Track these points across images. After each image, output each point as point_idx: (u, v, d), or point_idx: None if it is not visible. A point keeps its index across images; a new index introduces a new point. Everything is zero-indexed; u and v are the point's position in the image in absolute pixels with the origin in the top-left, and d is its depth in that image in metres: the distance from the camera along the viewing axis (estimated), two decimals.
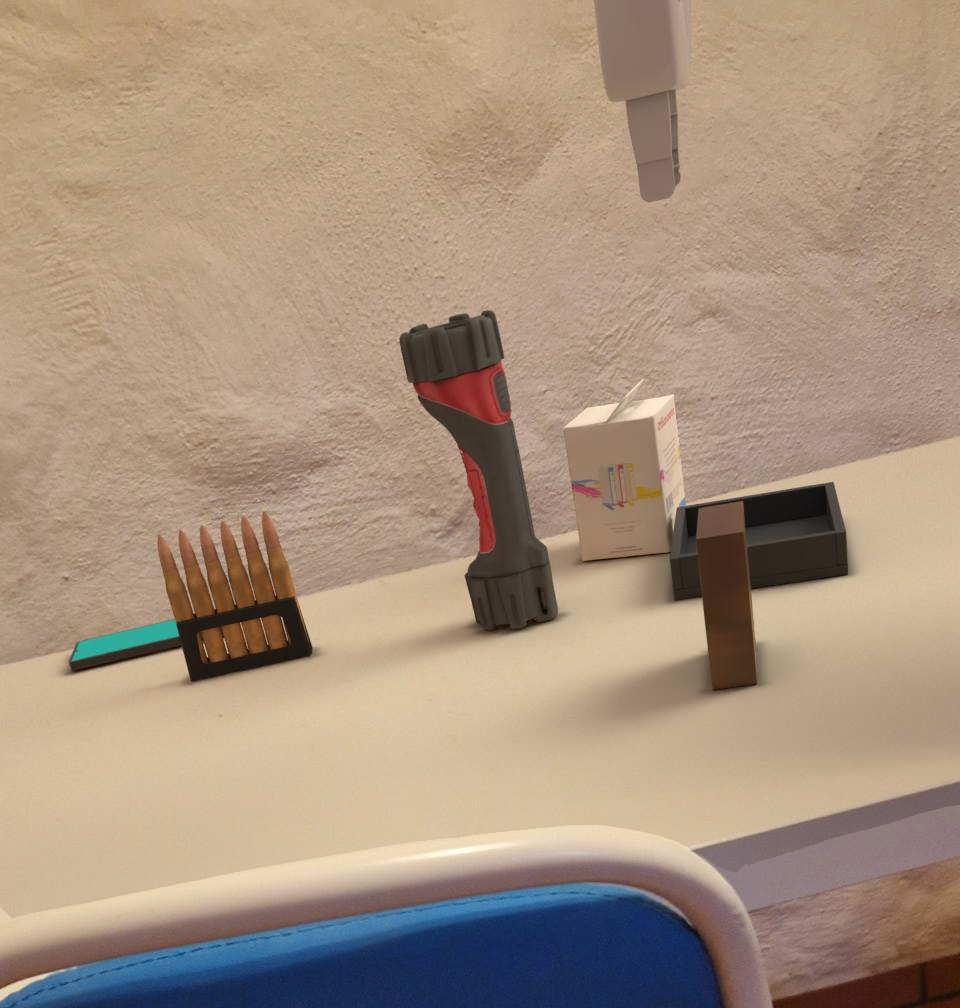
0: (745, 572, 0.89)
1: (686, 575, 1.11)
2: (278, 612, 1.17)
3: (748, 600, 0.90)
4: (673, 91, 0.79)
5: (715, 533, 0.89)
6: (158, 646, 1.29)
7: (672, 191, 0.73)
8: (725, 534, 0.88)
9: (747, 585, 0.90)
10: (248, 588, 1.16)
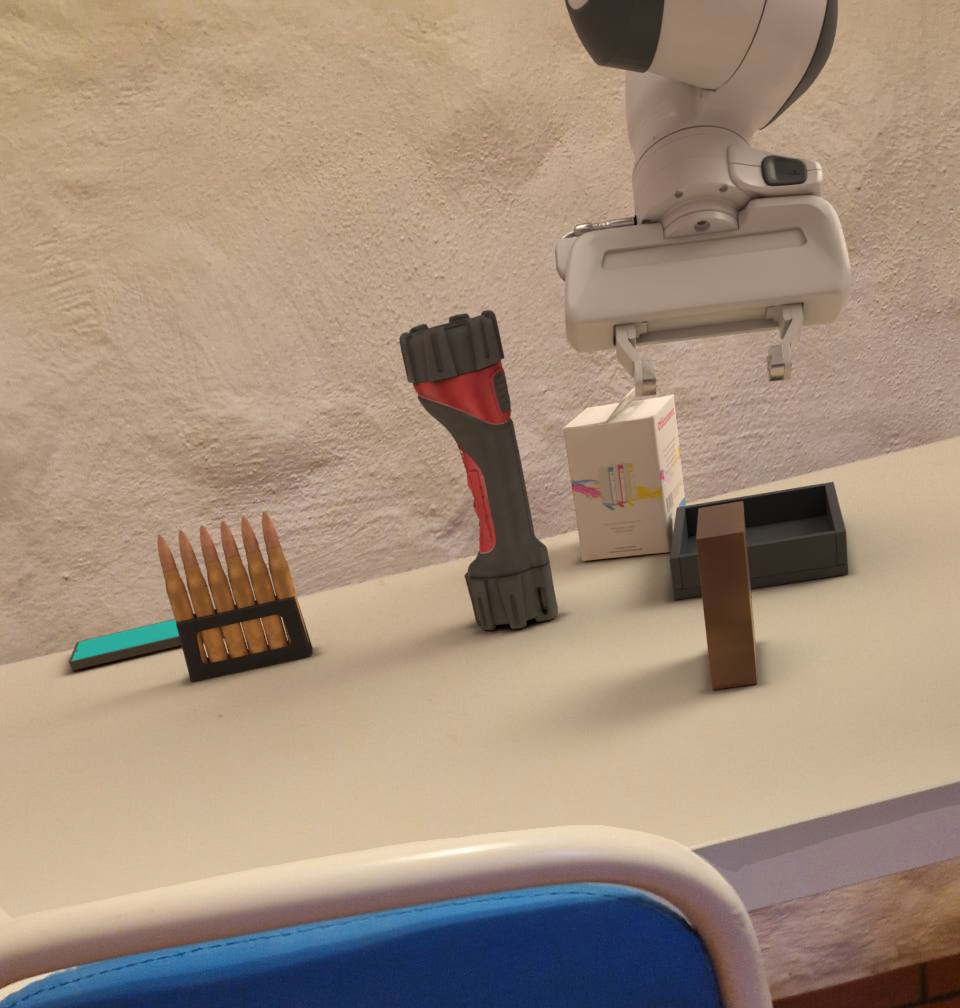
0: (745, 572, 0.89)
1: (686, 575, 1.11)
2: (278, 612, 1.17)
3: (748, 600, 0.90)
4: (781, 307, 0.98)
5: (715, 533, 0.89)
6: (158, 646, 1.29)
7: (635, 382, 0.99)
8: (725, 534, 0.88)
9: (747, 585, 0.90)
10: (248, 588, 1.16)
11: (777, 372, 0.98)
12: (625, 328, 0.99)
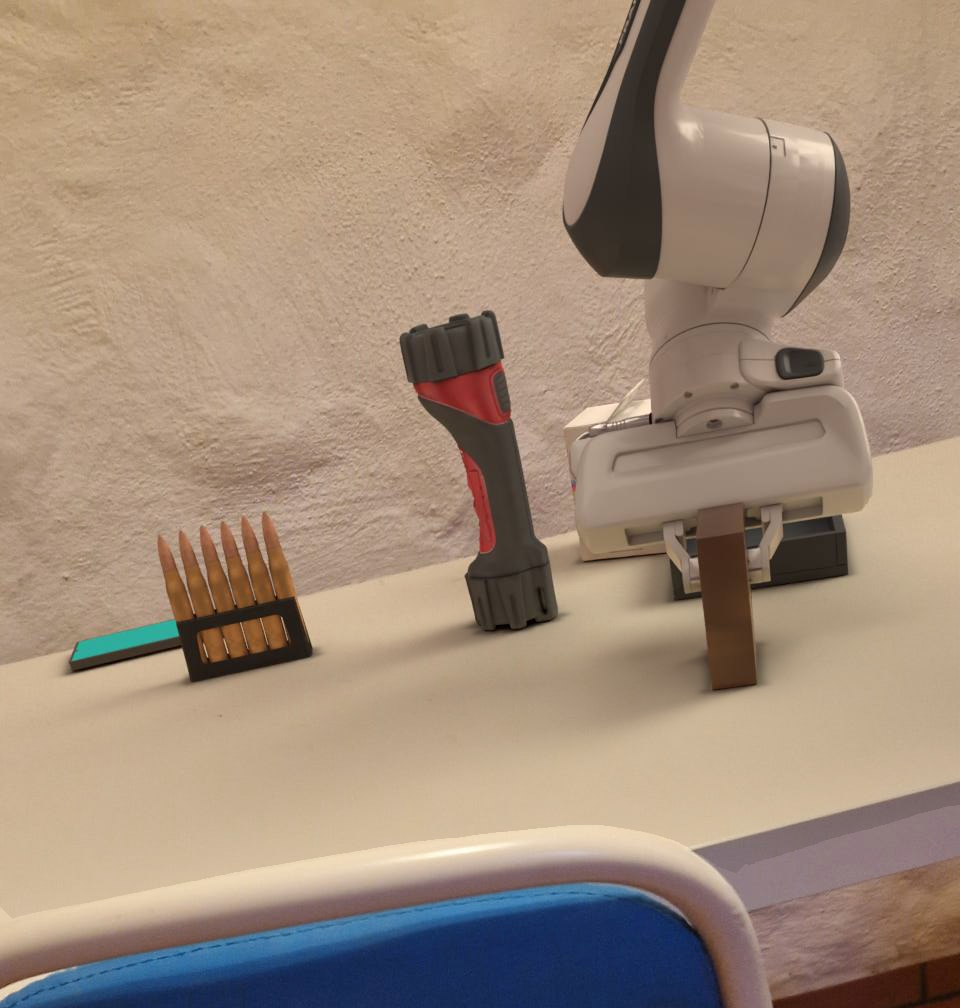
0: (745, 572, 0.89)
1: None
2: (278, 612, 1.17)
3: (748, 600, 0.90)
4: (760, 508, 0.95)
5: (715, 533, 0.89)
6: (158, 646, 1.29)
7: None
8: (724, 534, 0.88)
9: (747, 585, 0.90)
10: (248, 588, 1.16)
11: (755, 576, 0.94)
12: (672, 525, 0.96)
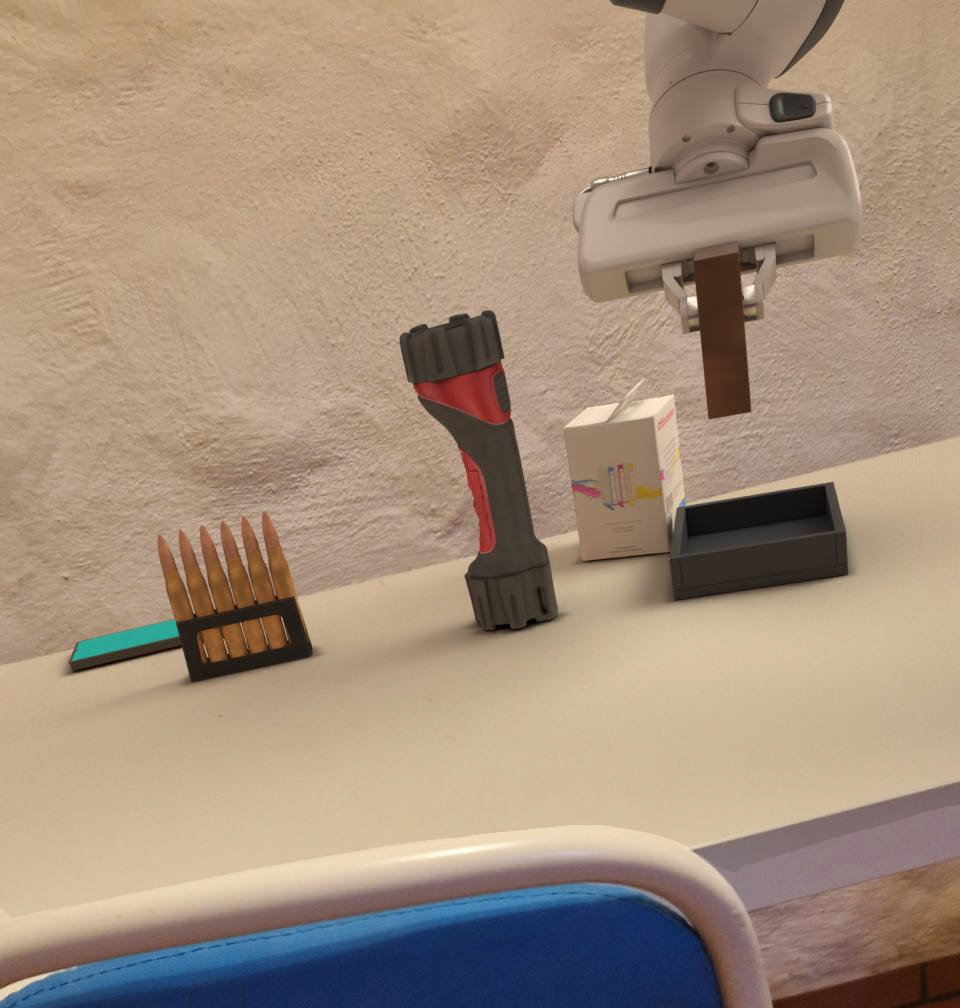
0: (740, 294, 0.94)
1: (686, 575, 1.11)
2: (278, 612, 1.17)
3: (743, 324, 0.95)
4: (754, 248, 0.99)
5: (711, 256, 0.93)
6: (158, 646, 1.29)
7: None
8: (721, 255, 0.93)
9: (742, 308, 0.94)
10: (248, 588, 1.16)
11: (750, 312, 0.99)
12: (671, 267, 1.00)
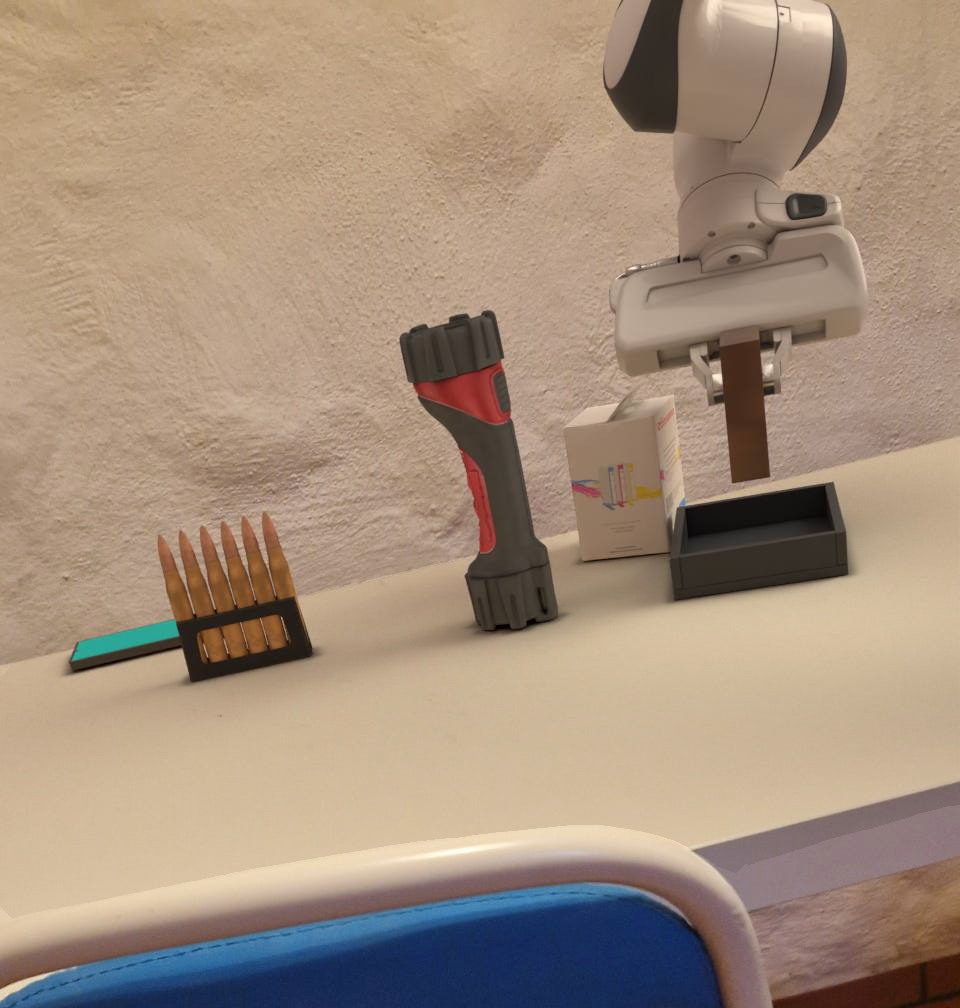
0: (760, 376, 1.06)
1: (686, 575, 1.11)
2: (278, 612, 1.17)
3: (763, 401, 1.07)
4: (772, 331, 1.11)
5: (735, 342, 1.06)
6: (158, 646, 1.29)
7: None
8: (743, 342, 1.05)
9: (762, 387, 1.07)
10: (248, 588, 1.16)
11: (768, 388, 1.11)
12: (698, 347, 1.13)
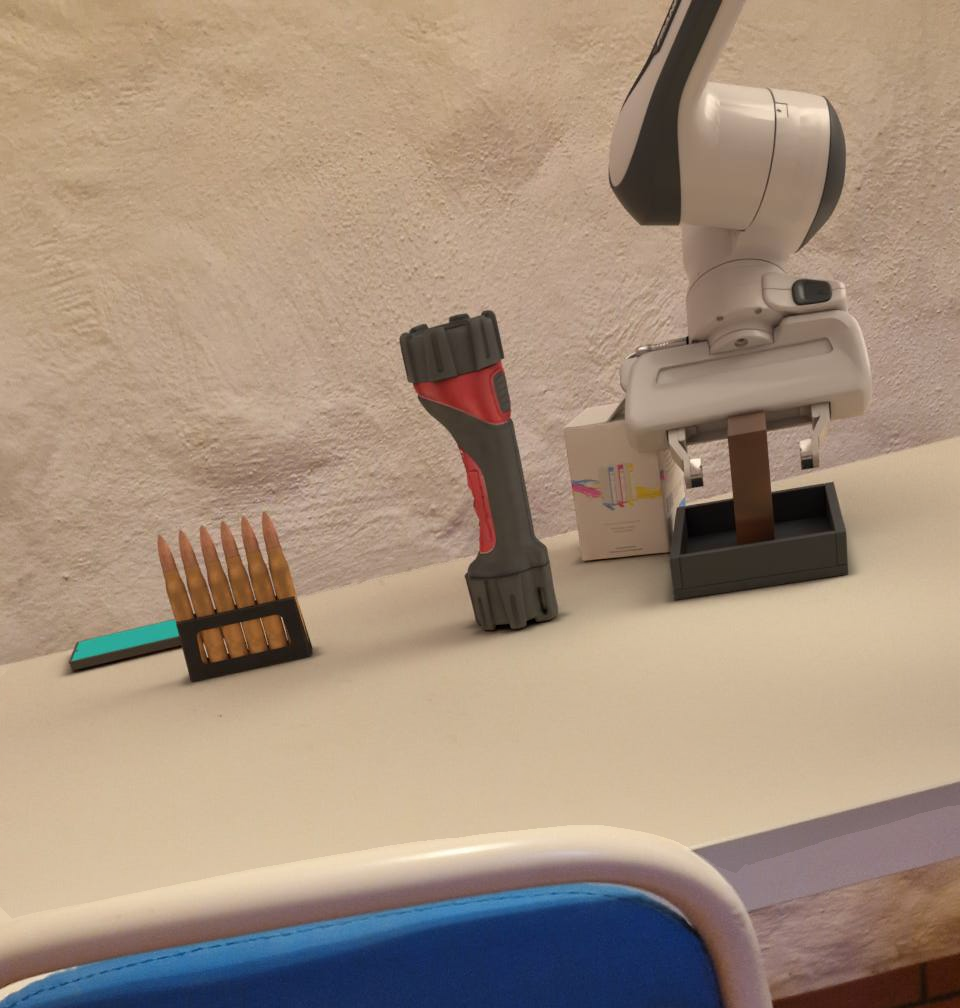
0: (767, 463, 1.10)
1: (686, 575, 1.11)
2: (278, 612, 1.17)
3: (769, 487, 1.11)
4: (811, 406, 1.14)
5: (743, 431, 1.09)
6: (158, 646, 1.29)
7: None
8: (751, 432, 1.09)
9: (769, 474, 1.10)
10: (248, 588, 1.16)
11: (807, 462, 1.14)
12: (676, 432, 1.16)
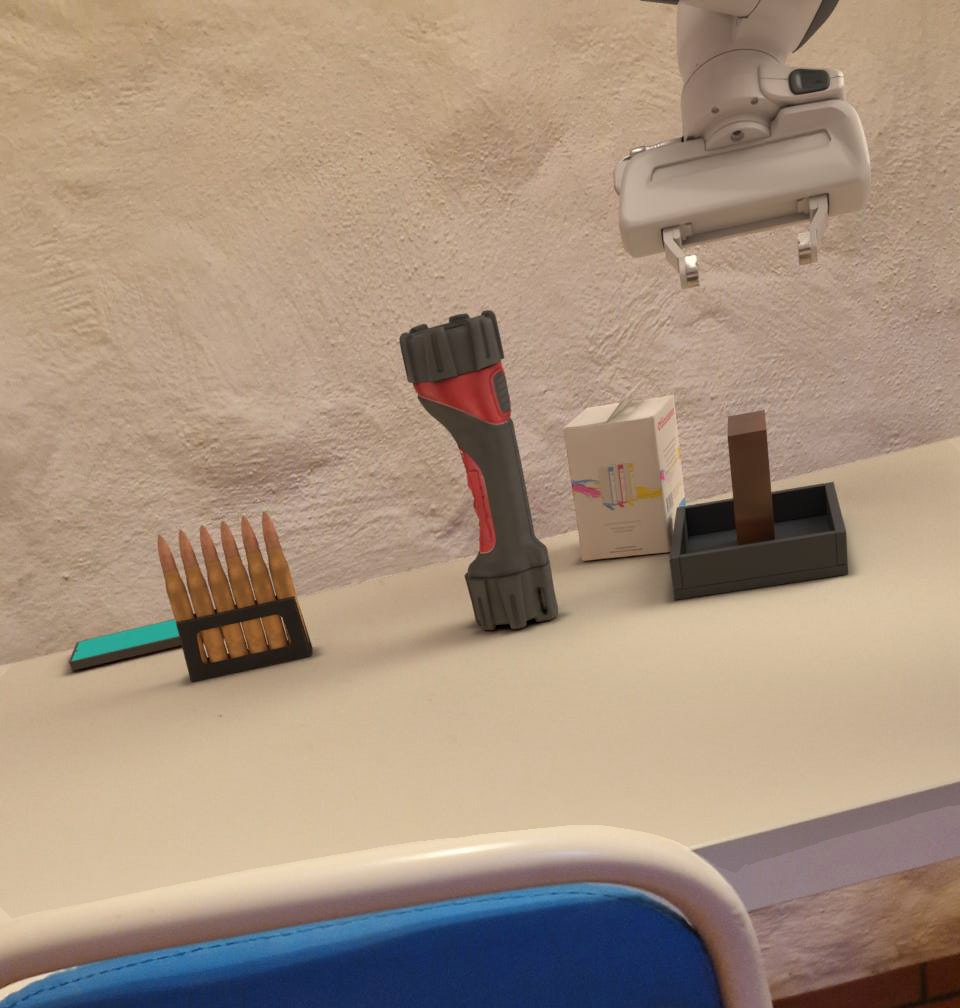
0: (767, 463, 1.10)
1: (686, 575, 1.11)
2: (278, 612, 1.17)
3: (769, 487, 1.11)
4: (808, 199, 1.12)
5: (743, 431, 1.09)
6: (158, 646, 1.29)
7: None
8: (751, 432, 1.09)
9: (769, 474, 1.10)
10: (248, 588, 1.16)
11: (805, 255, 1.11)
12: (671, 230, 1.14)
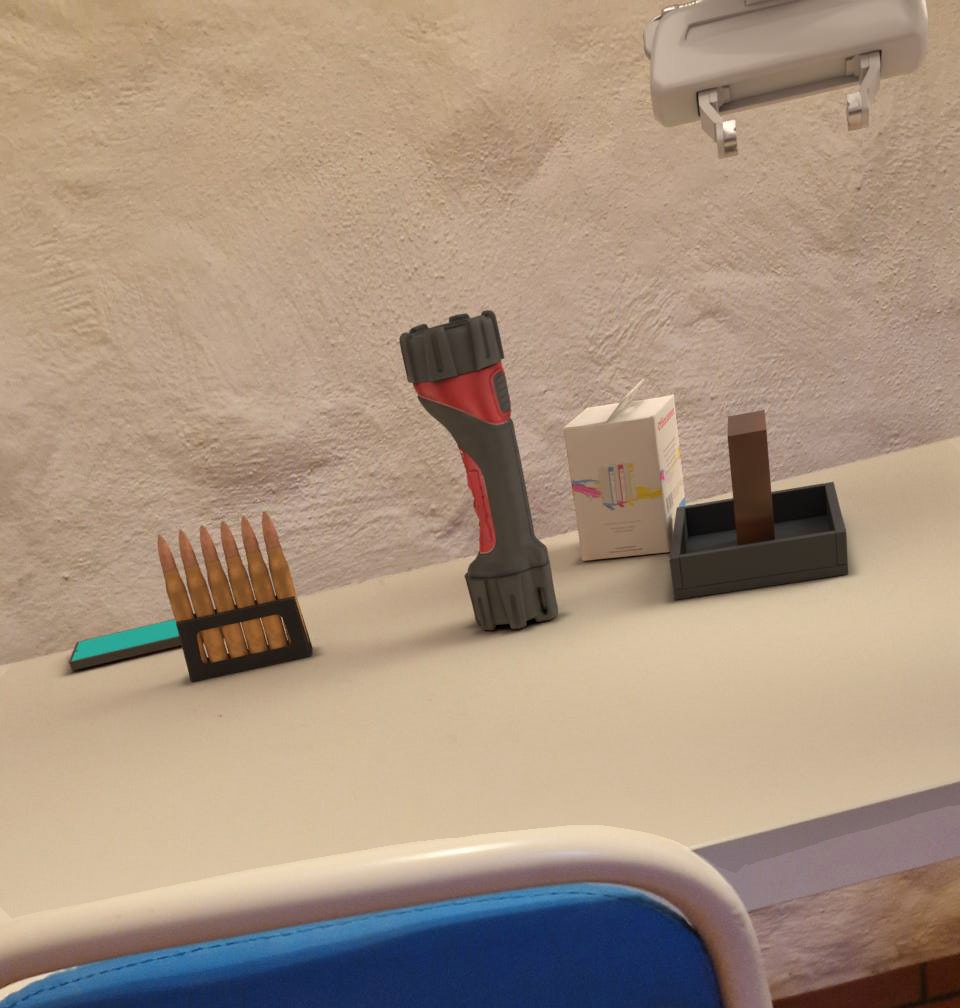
0: (767, 463, 1.10)
1: (686, 575, 1.11)
2: (278, 612, 1.17)
3: (769, 487, 1.11)
4: (859, 57, 1.02)
5: (743, 431, 1.09)
6: (158, 646, 1.29)
7: (716, 142, 1.03)
8: (751, 432, 1.09)
9: (769, 474, 1.10)
10: (248, 588, 1.16)
11: (855, 119, 1.01)
12: (707, 93, 1.04)
